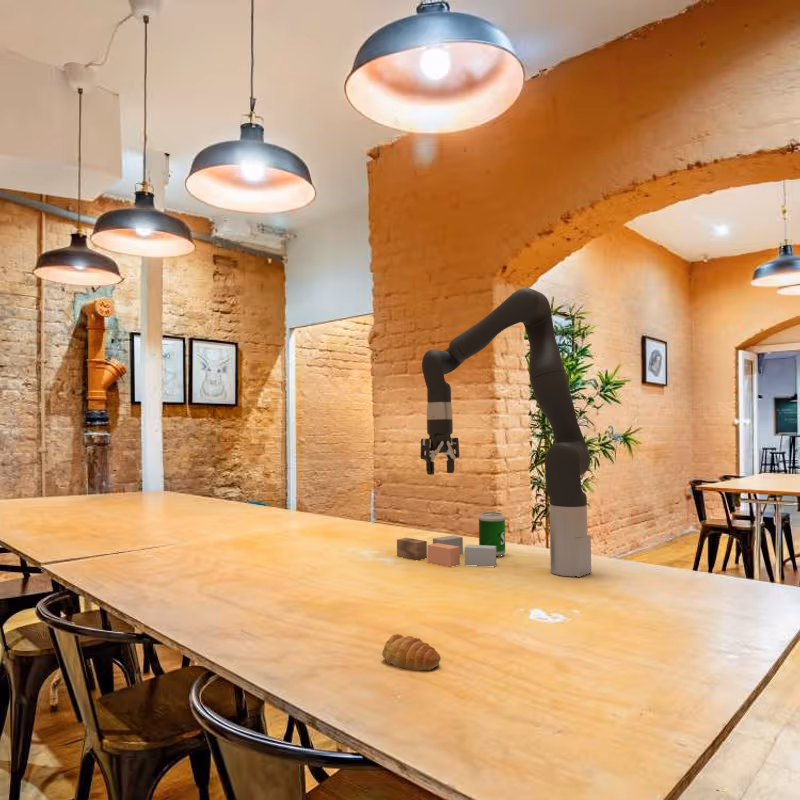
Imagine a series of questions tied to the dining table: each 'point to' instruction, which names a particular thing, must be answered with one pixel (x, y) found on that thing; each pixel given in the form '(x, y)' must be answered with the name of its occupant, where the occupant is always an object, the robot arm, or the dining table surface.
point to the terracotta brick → (443, 554)
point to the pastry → (410, 653)
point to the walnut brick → (411, 548)
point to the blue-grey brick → (480, 555)
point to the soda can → (492, 531)
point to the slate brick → (450, 541)
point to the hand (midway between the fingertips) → (440, 473)
